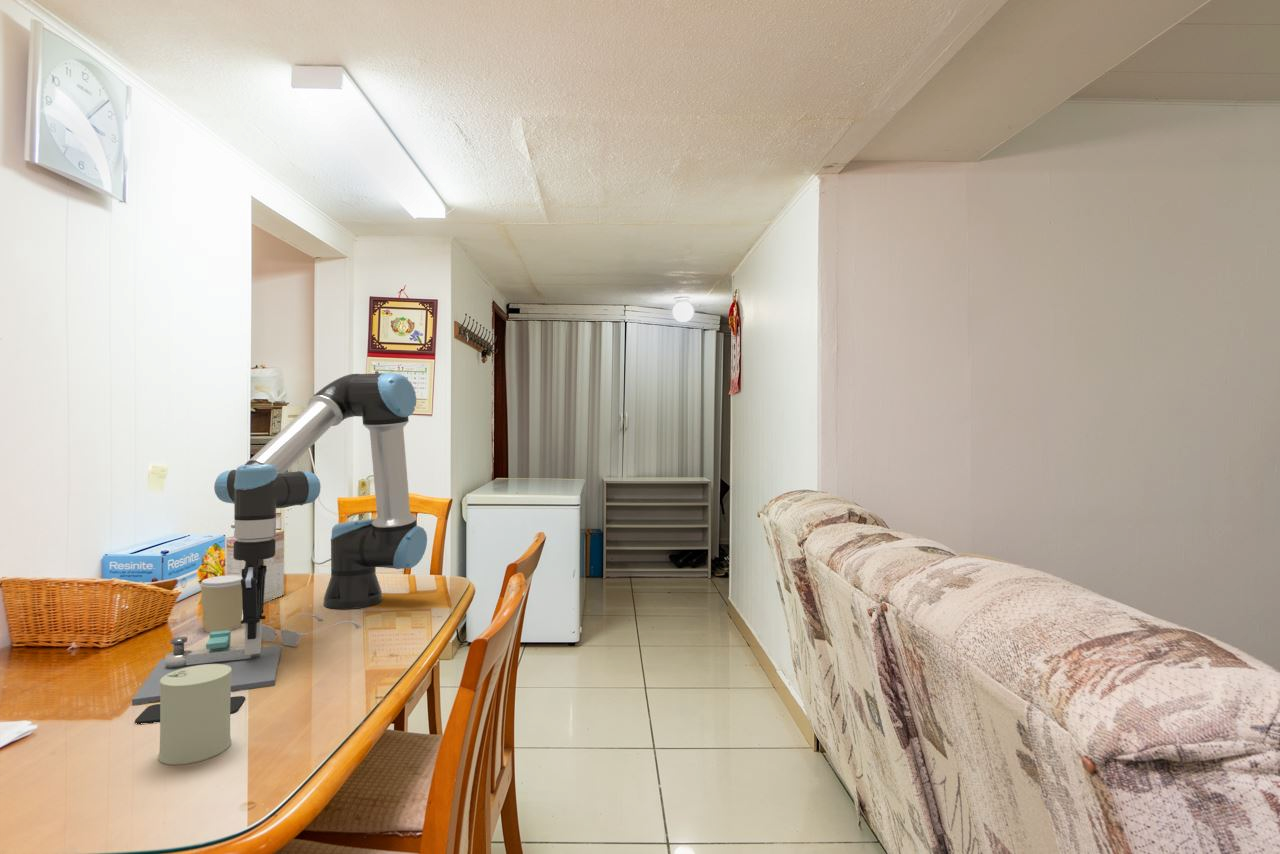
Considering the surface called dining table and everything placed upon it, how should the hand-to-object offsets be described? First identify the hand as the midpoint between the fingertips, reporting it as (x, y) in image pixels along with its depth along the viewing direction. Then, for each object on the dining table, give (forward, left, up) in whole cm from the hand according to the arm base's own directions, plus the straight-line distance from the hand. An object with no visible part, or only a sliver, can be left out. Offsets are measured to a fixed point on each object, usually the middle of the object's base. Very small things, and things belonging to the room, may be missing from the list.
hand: (252, 653), depth 136 cm
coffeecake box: (+4, -58, -3) cm, 58 cm away
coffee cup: (+9, -33, -3) cm, 34 cm away
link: (+7, -3, -1) cm, 8 cm away
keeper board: (+6, +3, -3) cm, 7 cm away
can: (+4, +38, -3) cm, 38 cm away
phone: (+7, +21, -3) cm, 22 cm away
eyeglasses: (-11, -20, -3) cm, 23 cm away
